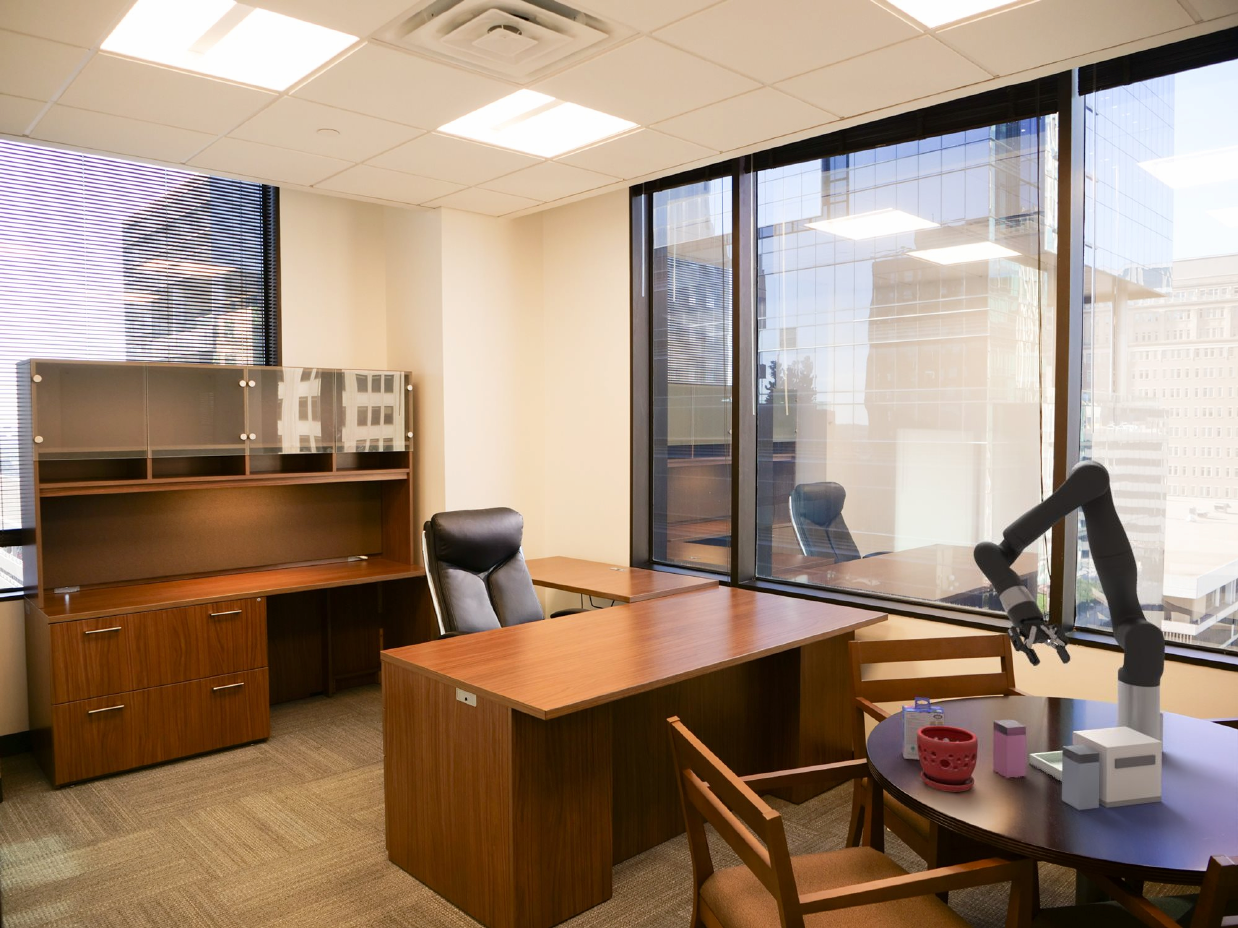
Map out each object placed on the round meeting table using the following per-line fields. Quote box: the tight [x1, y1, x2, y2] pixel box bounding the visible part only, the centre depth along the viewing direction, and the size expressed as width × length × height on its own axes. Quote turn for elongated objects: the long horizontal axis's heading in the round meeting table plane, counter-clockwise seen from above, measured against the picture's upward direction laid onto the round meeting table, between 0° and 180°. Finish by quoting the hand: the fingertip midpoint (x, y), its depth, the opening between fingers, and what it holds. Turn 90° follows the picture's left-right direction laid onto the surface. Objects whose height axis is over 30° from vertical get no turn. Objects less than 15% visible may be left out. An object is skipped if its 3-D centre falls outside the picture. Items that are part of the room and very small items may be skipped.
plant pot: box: [917, 725, 979, 793], centre depth 194 cm, size 13×13×12 cm
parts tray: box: [1029, 750, 1062, 783], centre depth 201 cm, size 11×11×2 cm
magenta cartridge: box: [992, 718, 1027, 779], centre depth 199 cm, size 5×5×12 cm
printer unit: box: [1072, 726, 1163, 809], centre depth 187 cm, size 14×11×13 cm
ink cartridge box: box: [901, 696, 946, 760], centre depth 210 cm, size 10×6×14 cm, turn 78°
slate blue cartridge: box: [1061, 744, 1100, 811], centre depth 183 cm, size 5×5×12 cm
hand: (1052, 663), depth 206 cm, fingers open, 8 cm apart
